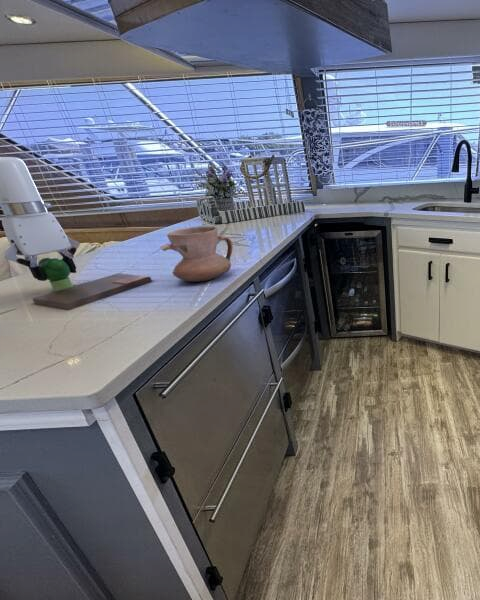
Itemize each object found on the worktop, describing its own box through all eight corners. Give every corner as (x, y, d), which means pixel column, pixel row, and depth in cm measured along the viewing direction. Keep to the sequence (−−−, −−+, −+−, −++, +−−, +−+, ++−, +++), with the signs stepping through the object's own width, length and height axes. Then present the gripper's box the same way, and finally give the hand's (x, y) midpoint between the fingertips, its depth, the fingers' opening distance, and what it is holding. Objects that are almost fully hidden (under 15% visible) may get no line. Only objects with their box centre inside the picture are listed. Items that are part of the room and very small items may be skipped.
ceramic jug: (179, 291, 85) (162, 238, 79) (167, 279, 94) (150, 231, 89) (248, 274, 96) (237, 226, 91) (231, 265, 106) (219, 222, 100)
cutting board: (69, 309, 77) (65, 303, 76) (34, 303, 81) (31, 297, 80) (152, 281, 94) (150, 275, 93) (120, 277, 98) (118, 272, 98)
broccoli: (58, 294, 87) (42, 262, 83) (42, 291, 89) (26, 260, 86) (84, 286, 92) (70, 256, 88) (69, 284, 94) (54, 254, 91)
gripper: (58, 205, 91) (85, 266, 98) (-33, 214, 76) (7, 286, 83) (74, 205, 88) (101, 267, 95) (-16, 215, 73) (24, 288, 80)
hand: (57, 275), depth 89 cm, fingers closed on broccoli, 5 cm apart
